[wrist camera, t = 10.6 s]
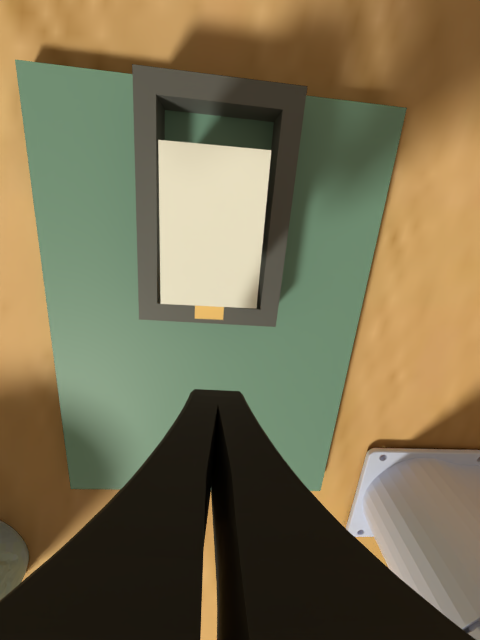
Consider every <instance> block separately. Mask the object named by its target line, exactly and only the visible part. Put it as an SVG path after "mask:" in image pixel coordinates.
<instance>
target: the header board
mask: <svg viewBox="0 0 480 640" xmlns="http://www.w3.org/2000/svg"><path fill="white" fill-rule="evenodd" d="M15 62H16V70H17V78H18V86H19V93H20V101H21V109H22V116H23V124H24V132H25V140H26V147H27V155H28V163H29V170H30V178H31V186H32V194H33V201H34V209H35V217H36V224H37V232H38V240H39V248H40V255H41V263H42V271H43V278H44V286H45V294H46V301H47V309H48V317H49V325H50V332H51V340H52V348H53V355H54V363H55V371H56V379H57V386H58V394H59V402H60V409H61V417H62V425H63V433H64V440H65V448H66V456H67V463H68V471H69V479H70V487H71V489H122V488H123V487H124V485H125V484H126V483H127V482H128V481H129V480H130V479H131V478H132V476H133V475H134V474H135V473H136V472H137V471H138V470H139V468H140V467H141V466H142V465H143V463H144V462H145V461H146V460H147V458H148V457H149V456H150V455H151V453H152V452H153V451H154V450H155V448H156V447H157V446H158V444H159V443H160V442H161V440H162V439H163V438H164V436H165V435H166V433H167V432H168V430H169V429H170V428H171V426H172V425H173V423H174V422H175V420H176V419H177V417H178V415H179V414H180V412H181V411H182V409H183V407H184V405H185V403H186V401H187V399H188V397H189V395H190V392H192V391H193V390H194V389H204V390H226V391H240V392H241V393H242V394H243V396H244V398H245V400H246V402H247V404H248V405H249V407H250V409H251V411H252V413H253V414H254V416H255V418H256V419H257V421H258V423H259V424H260V426H261V427H262V429H263V430H264V432H265V433H266V435H267V436H268V438H269V439H270V441H271V442H272V443H273V445H274V446H275V448H276V449H277V451H278V452H279V453H280V455H281V456H282V457H283V459H284V460H285V461H286V462H287V464H288V465H289V466H290V468H291V469H292V470H293V471H294V473H295V474H296V475H297V476H298V478H299V479H300V480H301V481H302V482H303V484H304V485H305V486H306V487H307V488H308V489H309V491H320V490H321V485H322V481H323V477H324V472H325V468H326V463H327V459H328V454H329V450H330V445H331V441H332V437H333V432H334V428H335V423H336V419H337V414H338V410H339V406H340V401H341V397H342V392H343V388H344V383H345V379H346V375H347V370H348V366H349V361H350V357H351V352H352V348H353V344H354V339H355V335H356V330H357V326H358V321H359V317H360V313H361V308H362V304H363V299H364V295H365V290H366V286H367V282H368V277H369V273H370V268H371V264H372V259H373V255H374V250H375V246H376V242H377V237H378V233H379V228H380V224H381V219H382V215H383V211H384V206H385V202H386V197H387V193H388V188H389V184H390V180H391V175H392V171H393V166H394V162H395V157H396V153H397V149H398V144H399V140H400V135H401V131H402V126H403V122H404V118H405V113H406V109H407V108H404V107H395V106H387V105H379V104H371V103H363V102H355V101H347V100H339V99H330V98H322V97H314V96H306V93H307V86H301V85H293V84H285V83H277V82H269V81H261V80H253V79H245V78H237V77H229V76H221V75H213V74H205V73H197V72H189V71H181V70H174V69H166V68H158V67H150V66H142V65H134V64H132V74H128V73H119V72H111V71H103V70H95V69H87V68H79V67H71V66H63V65H54V64H46V63H38V62H30V61H22V60H15ZM158 140H166V141H177V142H188V143H198V144H209V145H220V146H231V147H241V148H252V149H263V150H271V160H270V170H269V181H268V191H267V202H266V213H265V223H264V234H263V244H262V255H261V265H260V276H259V287H258V297H257V308H235V307H224V314H223V320H216V319H195V306H194V305H173V304H161V297H160V225H159V154H158Z"/></svg>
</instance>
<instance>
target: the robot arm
mask: <svg viewBox="0 0 480 640" xmlns="http://www.w3.org/2000/svg"><path fill="white" fill-rule="evenodd" d="M381 455H382V456H381ZM210 492H211V495H212V512H213V529H214V545H215V562H216V579H217V640H480V450H455V449H406V448H372V449H370V450H369V451H368V452H367V454H366V457H365V461H364V465H363V468H362V472H361V475H360V479H359V483H358V486H357V490H356V493H355V497H354V501H353V504H352V508H351V512H350V515H349V519H348V522H347V526H346V529H345V528H344V527H343V526H342V525H341V524H340V523H339V522H338V521H337V520H336V519H335V517H334V516H333V515H332V514H331V513H330V512H329V511H328V510H327V509H326V508H325V507H324V506H323V505H322V504H321V503H320V502H319V501H318V499H317V498H316V497H315V496H314V495H313V494H312V493H311V492H310V491H309V489H308V488H307V487H306V486H305V485H304V484H303V482H302V481H301V480H300V479H299V478H298V476H297V475H296V474H295V473H294V471H293V470H292V469H291V468H290V466H289V465H288V464H287V462H286V461H285V460H284V459H283V457H282V456H281V455H280V453H279V452H278V451H277V449H276V448H275V446H274V445H273V443H272V442H271V441H270V439H269V438H268V436H267V435H266V433H265V432H264V430H263V429H262V427H261V426H260V424H259V423H258V421H257V419H256V418H255V416H254V414H253V413H252V411H251V409H250V407H249V405H248V404H247V402H246V400H245V398H244V396H243V394H242V393H241V392H240V391H226V390H204V389H194V390H193V391H192V392H190V395H189V397H188V399H187V401H186V403H185V405H184V407H183V409H182V411H181V412H180V414H179V415H178V417H177V419H176V420H175V422H174V423H173V425H172V426H171V428H170V429H169V430H168V432H167V433H166V435H165V436H164V438H163V439H162V440H161V442H160V443H159V444H158V446H157V447H156V448H155V450H154V451H153V452H152V453H151V455H150V456H149V457H148V458H147V460H146V461H145V462H144V463H143V465H142V466H141V467H140V468H139V470H138V471H137V472H136V473H135V474H134V475H133V476H132V478H131V479H130V480H129V481H128V482H127V483H126V484H125V485H124V487H123V488H122V489H121V490H120V491H119V492H118V493H117V494H116V495H115V496H114V497H113V498H112V499H111V500H110V501H109V502H108V504H107V505H106V506H105V507H104V508H103V509H102V510H101V511H100V512H98V513H97V514H96V515H95V516H94V517H93V518H92V519H91V520H90V521H89V522H88V523H87V524H86V525H85V526H84V527H83V528H82V529H81V530H80V531H79V532H78V533H77V534H76V535H75V536H74V537H73V538H72V539H71V540H69V541H68V542H67V543H66V544H65V545H64V546H63V547H62V548H61V549H60V550H59V551H57V552H56V553H55V554H54V555H53V556H52V557H51V558H50V559H48V560H47V561H46V562H45V563H44V564H43V565H41V566H40V567H39V568H38V569H37V570H35V571H34V572H33V573H32V574H31V575H30V576H28V577H27V578H26V579H25V580H24V581H23V582H21V583H20V584H19V585H18V586H17V587H16V588H14V589H13V590H12V591H11V592H10V593H8V594H7V595H6V596H5V597H4V598H3V599H1V600H0V640H200V630H201V601H202V572H203V547H204V539H205V531H206V524H207V516H208V508H209V500H210ZM355 537H375V540H376V542H377V544H378V546H379V548H380V550H381V552H382V555H383V557H384V559H385V561H386V563H387V565H388V567H389V568H388V567H386V566H385V565H384V564H383V563H382V562H381V561H380V560H379V559H378V558H377V557H376V556H374V555H373V554H372V553H371V552H370V551H369V550H368V549H367V548H366V547H365V546H364V545H363V544H362V543H360V542H359V541H358V540H357V539H356V538H355Z"/></svg>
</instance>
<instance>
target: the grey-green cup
mask: <svg viewBox="0 0 480 640" xmlns="http://www.w3.org/2000/svg"><path fill="white" fill-rule="evenodd" d="M28 560H29V553H28V549H27V546H26V544H25V542H24V540H23V539H22V538H21V536H20V535H19V534H18V533H17V532H16V531H15V530H14V529H13V528H11V527H10V526H9V525H7V524H6V523H4V522H2V521H1V520H0V600H1V599H3V598H4V597H5V596H6V595H7V594H8V593H10V592H11V591H12V590H13V589H14V588H16V587H17V586H18V585H19V584H20V583H21V581H22V579H23V577H24V575H25V572H26V569H27V566H28Z"/></svg>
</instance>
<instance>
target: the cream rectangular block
mask: <svg viewBox="0 0 480 640" xmlns="http://www.w3.org/2000/svg"><path fill="white" fill-rule="evenodd" d="M158 154H159V225H160V297H161V304H173V305H194V306H195V319H216V320H223V314H224V307H235V308H257V297H258V287H259V276H260V265H261V255H262V244H263V234H264V223H265V213H266V202H267V191H268V181H269V170H270V160H271V150H263V149H252V148H241V147H231V146H220V145H209V144H198V143H188V142H177V141H166V140H158Z"/></svg>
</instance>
